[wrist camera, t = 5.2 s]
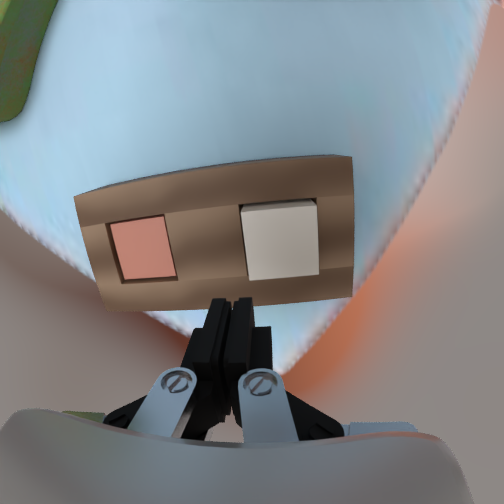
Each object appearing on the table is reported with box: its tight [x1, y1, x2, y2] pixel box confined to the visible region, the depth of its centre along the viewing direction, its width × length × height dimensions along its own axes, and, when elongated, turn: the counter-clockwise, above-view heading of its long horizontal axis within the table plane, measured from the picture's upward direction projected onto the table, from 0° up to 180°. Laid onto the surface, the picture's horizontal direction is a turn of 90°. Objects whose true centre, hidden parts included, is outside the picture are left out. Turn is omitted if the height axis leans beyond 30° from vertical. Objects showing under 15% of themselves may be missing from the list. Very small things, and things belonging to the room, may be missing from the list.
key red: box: [110, 214, 177, 279], centre depth 25 cm, size 5×5×4 cm
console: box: [74, 155, 354, 311], centre depth 25 cm, size 12×24×6 cm, turn 96°
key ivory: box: [241, 198, 319, 281], centre depth 22 cm, size 5×5×4 cm
